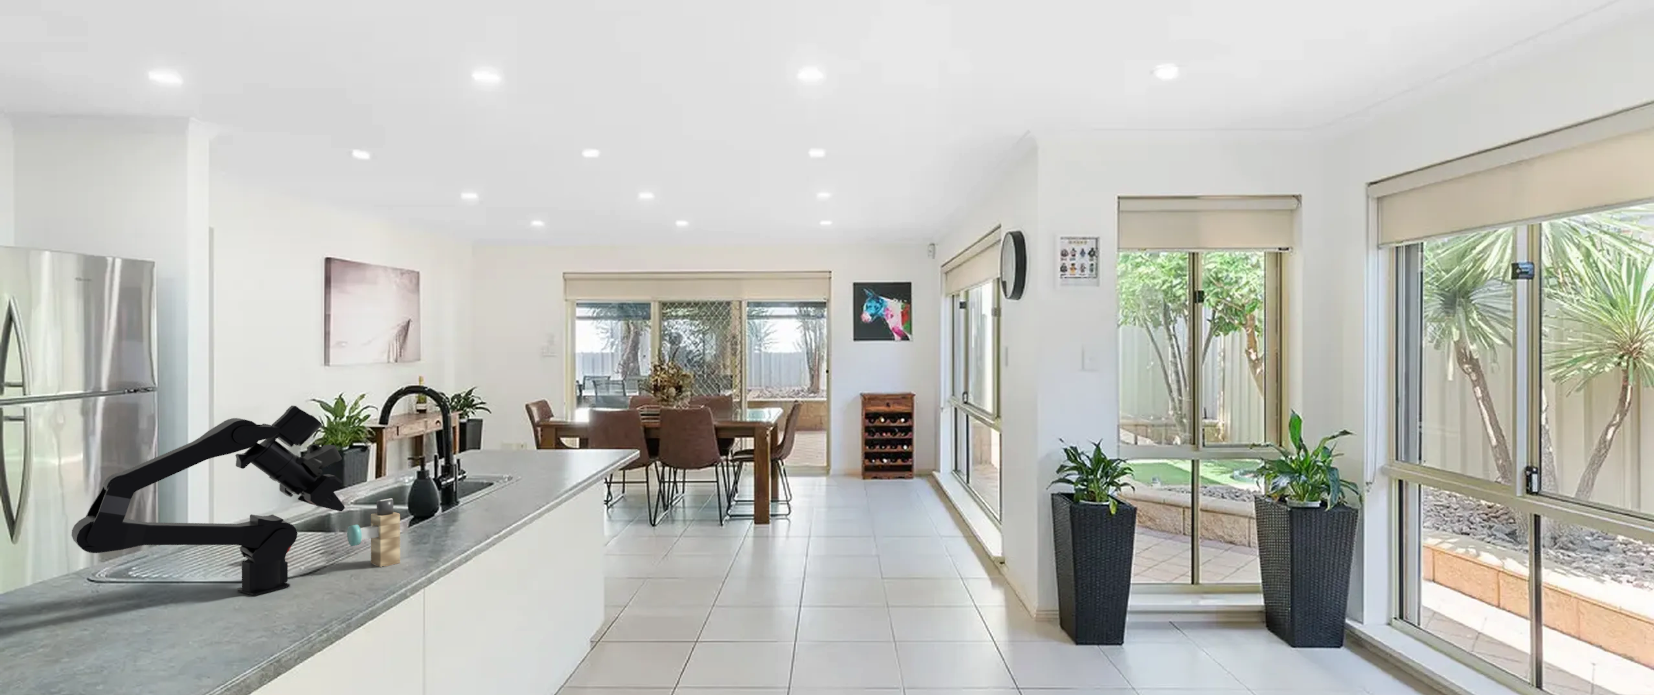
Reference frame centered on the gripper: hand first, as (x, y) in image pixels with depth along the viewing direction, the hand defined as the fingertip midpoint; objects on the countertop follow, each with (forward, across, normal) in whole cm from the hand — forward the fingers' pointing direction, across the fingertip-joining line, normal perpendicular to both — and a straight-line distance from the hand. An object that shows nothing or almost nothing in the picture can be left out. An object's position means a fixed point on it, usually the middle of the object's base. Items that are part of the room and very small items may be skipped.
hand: (342, 509), depth 159 cm
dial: (+8, 0, -4) cm, 9 cm away
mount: (+16, 0, +4) cm, 16 cm away
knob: (+9, 0, +3) cm, 10 cm away
